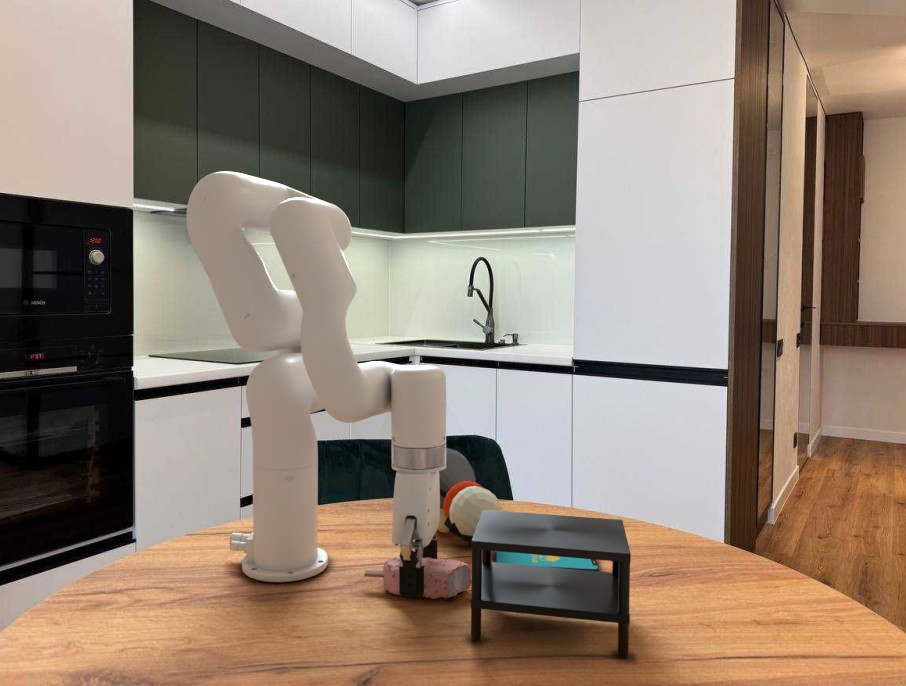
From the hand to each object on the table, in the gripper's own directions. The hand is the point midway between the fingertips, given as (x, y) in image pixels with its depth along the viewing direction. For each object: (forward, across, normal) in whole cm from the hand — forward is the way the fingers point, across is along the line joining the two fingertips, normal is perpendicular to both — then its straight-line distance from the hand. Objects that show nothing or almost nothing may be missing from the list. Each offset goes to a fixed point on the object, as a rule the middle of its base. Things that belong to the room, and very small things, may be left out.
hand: (419, 580), depth 95 cm
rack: (+2, +6, +18) cm, 19 cm away
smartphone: (+2, -14, +17) cm, 22 cm away
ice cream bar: (+2, 0, 0) cm, 2 cm away
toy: (+2, -27, -1) cm, 27 cm away
